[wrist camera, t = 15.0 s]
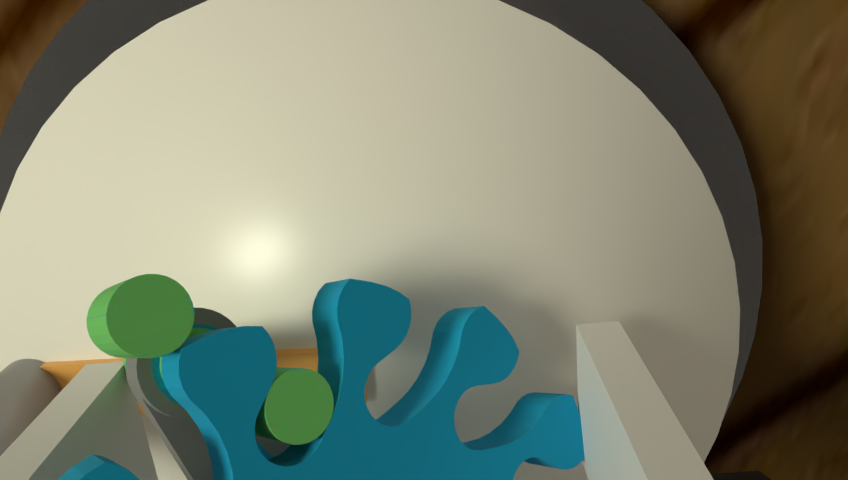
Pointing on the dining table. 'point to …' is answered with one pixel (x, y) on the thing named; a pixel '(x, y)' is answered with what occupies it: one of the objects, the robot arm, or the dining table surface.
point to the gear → (318, 391)
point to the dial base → (554, 3)
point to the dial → (371, 201)
